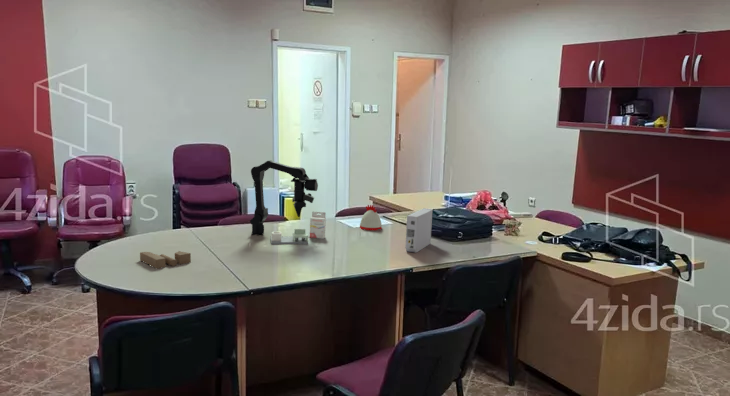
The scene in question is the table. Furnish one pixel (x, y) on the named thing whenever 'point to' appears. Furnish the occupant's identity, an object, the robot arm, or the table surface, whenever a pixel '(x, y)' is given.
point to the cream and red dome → (371, 220)
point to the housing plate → (289, 240)
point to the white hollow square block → (276, 236)
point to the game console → (418, 230)
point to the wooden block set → (165, 259)
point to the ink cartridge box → (317, 225)
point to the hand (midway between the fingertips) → (298, 216)
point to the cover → (300, 234)
